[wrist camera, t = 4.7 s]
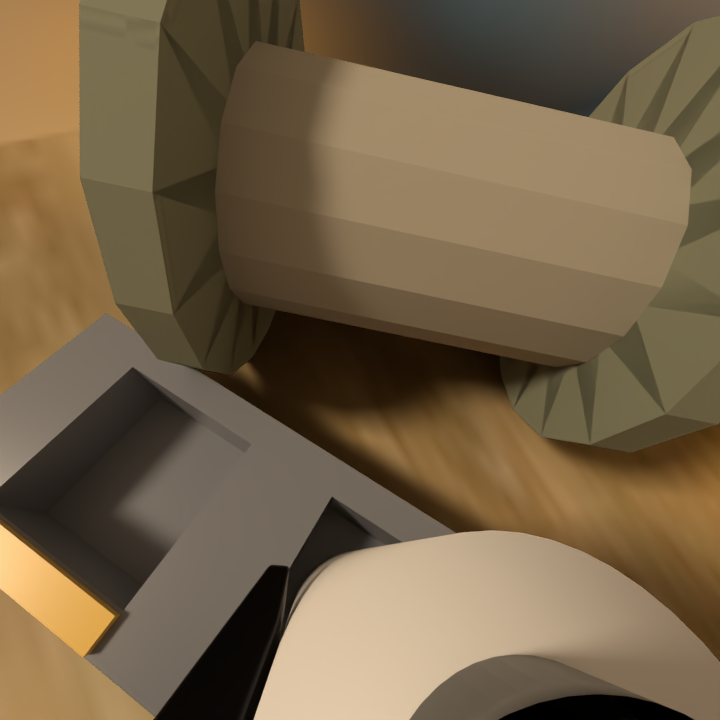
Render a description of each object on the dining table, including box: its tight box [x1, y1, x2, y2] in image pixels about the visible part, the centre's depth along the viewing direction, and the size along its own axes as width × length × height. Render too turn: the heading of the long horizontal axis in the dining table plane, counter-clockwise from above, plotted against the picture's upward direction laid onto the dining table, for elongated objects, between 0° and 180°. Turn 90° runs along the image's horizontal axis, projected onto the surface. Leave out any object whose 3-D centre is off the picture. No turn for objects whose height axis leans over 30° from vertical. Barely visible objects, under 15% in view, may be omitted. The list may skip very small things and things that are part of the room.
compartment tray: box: [0, 313, 456, 717], centre depth 13 cm, size 20×8×4 cm, turn 60°
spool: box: [79, 0, 720, 453], centre depth 14 cm, size 16×15×15 cm
